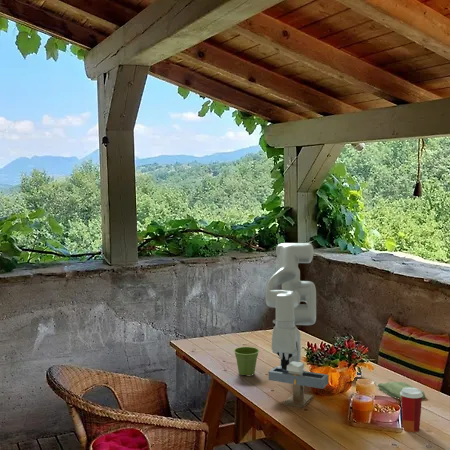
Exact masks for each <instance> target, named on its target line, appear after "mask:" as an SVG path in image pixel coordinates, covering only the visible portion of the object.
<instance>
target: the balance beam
mask: <svg viewBox="0 0 450 450" xmlns="http://www.w3.org/2000/svg"><path fill="white" fill-rule="evenodd" d="M329 377H330V376H329V374H326V373H325V374H324V373H320V372H313V371H306V370H304V371H303V375H298V374H290V373H288V371H287V369H286V370H285V369H282V368H281V367H278V366H275V367H272V368H271V369H270V370H269V371H268V381H272V382H278V383H285V384H289V385H290V384H292V394H291V395H290V396H289V397H288V398H286V399H285V400H284V401H283V405H284V404H285V405H286V406H289V405H290V406H289V407H296V408H301V409H302V408H304V407H306V405H307V404H308V403H309V402H310V401H311V400H312V399H313V398H314V395H313V394H306V393H305V392H304V390H305V389H304V387H309V388H310V387H311V388H315V389H322V390H323V389H325V388H326V387H327V385H328V384H329V383H330V381H329V379H330V378H329Z"/></svg>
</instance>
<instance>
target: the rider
mask: <svg viewBox="0 0 450 450" xmlns="http://www.w3.org/2000/svg"><path fill="white" fill-rule="evenodd" d="M303 368H304V369H305V362H295V361H292V362H291V363H290V364H288V365H287V371H288V373H290V374H298V375H303Z"/></svg>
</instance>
